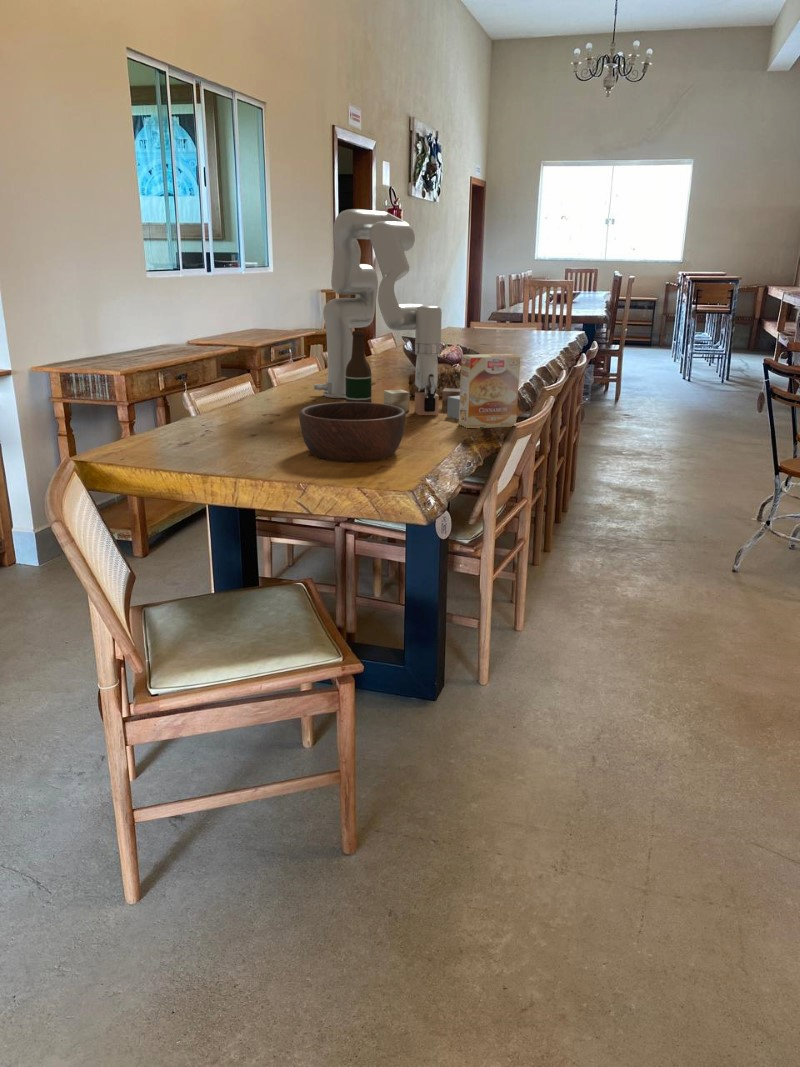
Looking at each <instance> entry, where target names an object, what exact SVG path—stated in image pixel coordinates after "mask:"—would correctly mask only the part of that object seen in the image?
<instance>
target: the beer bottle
mask: <svg viewBox="0 0 800 1067" xmlns="http://www.w3.org/2000/svg"><path fill="white" fill-rule="evenodd" d="M351 332H352V335H353V344H352V357H351V360H350V361H349V363H348V365H347V368H346V398H345V402H369V403H372V369H371V367H370V364H369V362H368V361H367V359H366V351H365V338H364V337H365V335H366V334H365V331H363V330H353V331H351Z"/></svg>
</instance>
